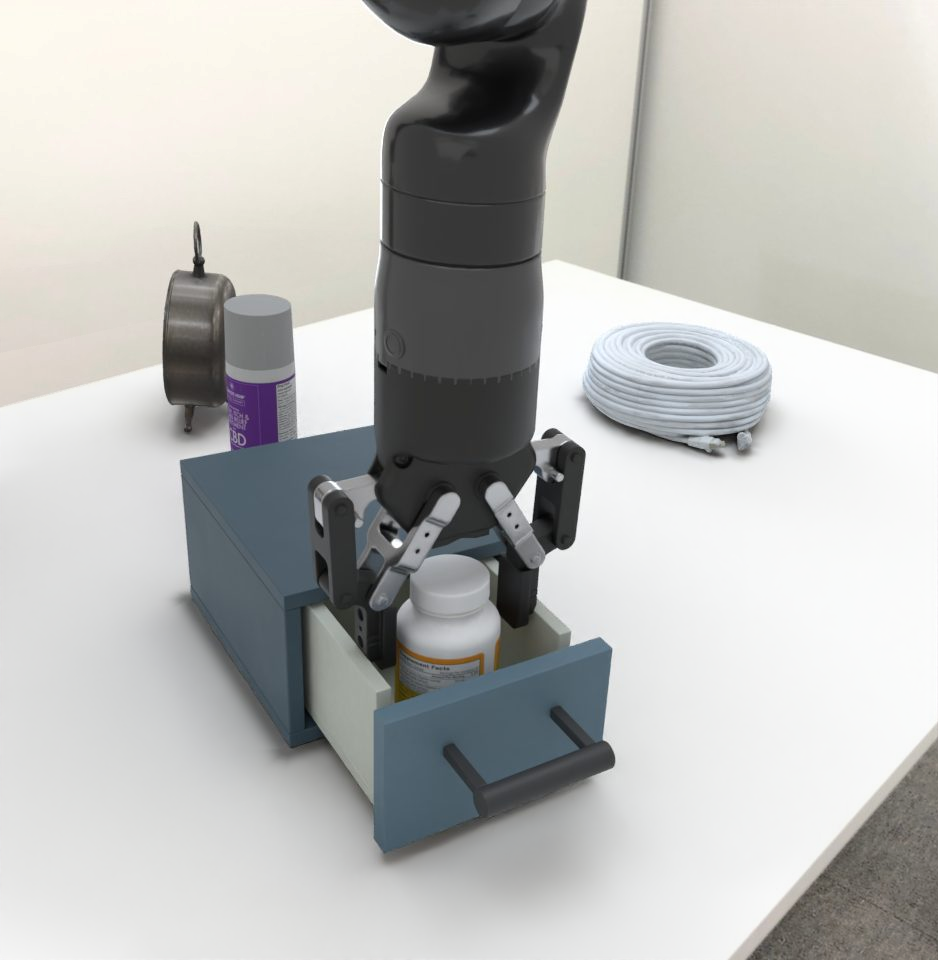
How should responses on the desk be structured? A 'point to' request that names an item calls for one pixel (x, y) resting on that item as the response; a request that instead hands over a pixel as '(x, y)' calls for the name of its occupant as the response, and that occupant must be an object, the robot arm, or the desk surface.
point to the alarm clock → (195, 336)
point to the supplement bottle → (446, 627)
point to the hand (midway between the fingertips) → (447, 639)
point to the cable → (679, 382)
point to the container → (260, 370)
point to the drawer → (459, 722)
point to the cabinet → (274, 556)
